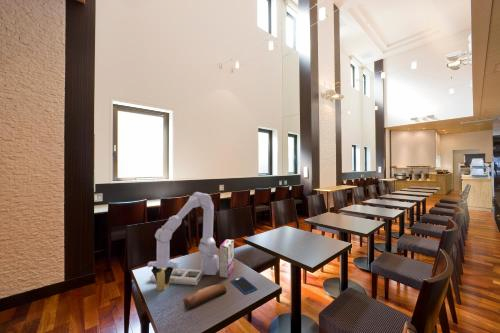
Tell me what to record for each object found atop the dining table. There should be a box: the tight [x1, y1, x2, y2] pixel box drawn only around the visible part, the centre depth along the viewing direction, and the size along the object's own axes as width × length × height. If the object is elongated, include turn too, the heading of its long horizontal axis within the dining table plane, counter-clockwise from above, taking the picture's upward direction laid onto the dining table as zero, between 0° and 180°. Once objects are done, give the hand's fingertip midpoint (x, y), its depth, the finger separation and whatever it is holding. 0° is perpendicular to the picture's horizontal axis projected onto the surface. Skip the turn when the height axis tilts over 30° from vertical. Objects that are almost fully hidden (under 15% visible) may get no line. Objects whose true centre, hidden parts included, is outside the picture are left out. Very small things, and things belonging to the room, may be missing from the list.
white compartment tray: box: [149, 267, 204, 286], centre depth 110 cm, size 24×10×2 cm, turn 83°
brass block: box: [156, 269, 170, 291], centre depth 102 cm, size 4×4×8 cm
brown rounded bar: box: [182, 284, 227, 310], centre depth 95 cm, size 18×7×7 cm
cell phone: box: [230, 276, 258, 295], centre depth 104 cm, size 7×14×1 cm, turn 34°
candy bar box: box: [219, 239, 235, 279], centre depth 116 cm, size 11×5×16 cm, turn 168°
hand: (162, 282), depth 102 cm, fingers closed on brass block, 4 cm apart
